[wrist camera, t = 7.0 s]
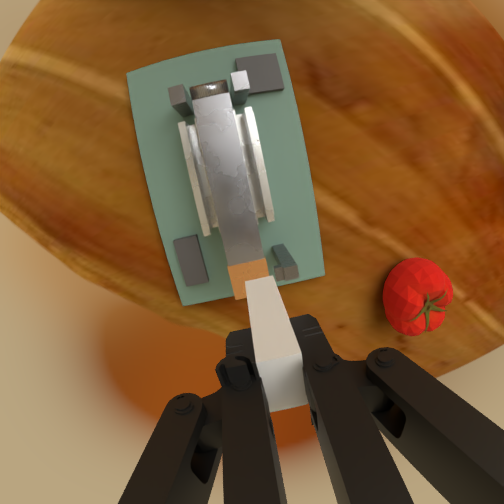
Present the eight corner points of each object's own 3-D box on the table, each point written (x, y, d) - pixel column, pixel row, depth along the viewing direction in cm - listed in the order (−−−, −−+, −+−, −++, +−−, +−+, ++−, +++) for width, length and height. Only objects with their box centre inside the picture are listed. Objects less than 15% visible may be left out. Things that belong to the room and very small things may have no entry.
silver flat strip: (189, 90, 20) (187, 85, 19) (227, 82, 20) (226, 76, 19) (235, 295, 25) (235, 301, 24) (271, 287, 25) (273, 293, 24)
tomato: (401, 239, 32) (438, 258, 24) (436, 272, 34) (470, 294, 26) (359, 300, 34) (386, 331, 26) (398, 325, 36) (425, 355, 28)
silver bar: (175, 103, 24) (161, 87, 18) (251, 87, 24) (258, 66, 18) (214, 269, 29) (210, 297, 23) (285, 254, 30) (299, 278, 23)
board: (129, 76, 24) (123, 71, 22) (277, 43, 24) (281, 36, 22) (184, 301, 32) (181, 309, 30) (321, 271, 32) (327, 277, 30)
